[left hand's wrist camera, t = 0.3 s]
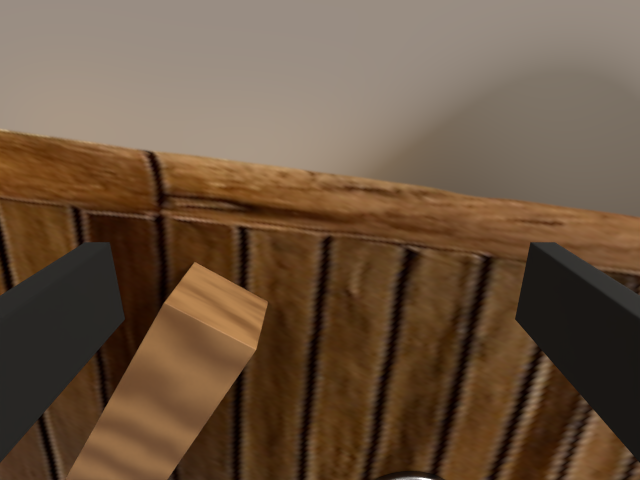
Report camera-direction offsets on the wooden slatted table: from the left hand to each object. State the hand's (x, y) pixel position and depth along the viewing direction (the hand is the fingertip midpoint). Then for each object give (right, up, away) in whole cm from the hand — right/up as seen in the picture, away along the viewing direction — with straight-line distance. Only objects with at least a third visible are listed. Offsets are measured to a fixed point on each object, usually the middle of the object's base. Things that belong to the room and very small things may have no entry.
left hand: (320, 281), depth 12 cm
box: (-17, -14, +34) cm, 40 cm away
